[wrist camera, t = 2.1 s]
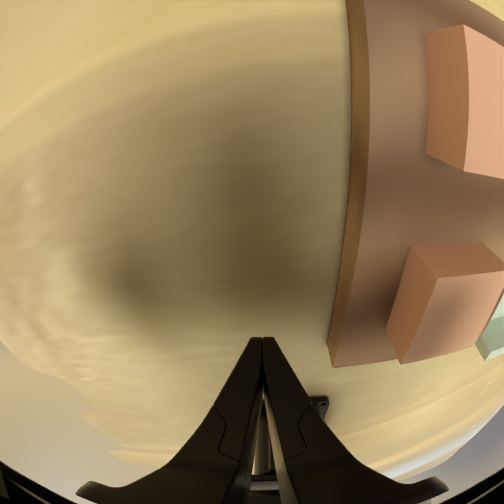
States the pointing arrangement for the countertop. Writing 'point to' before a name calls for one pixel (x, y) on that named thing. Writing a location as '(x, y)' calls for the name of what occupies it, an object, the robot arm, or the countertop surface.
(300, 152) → the countertop surface
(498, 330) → the sage tray
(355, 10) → the walnut board
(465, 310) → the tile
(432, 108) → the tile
